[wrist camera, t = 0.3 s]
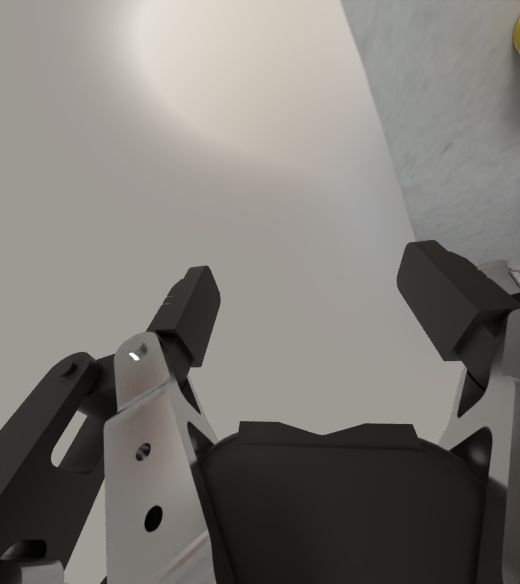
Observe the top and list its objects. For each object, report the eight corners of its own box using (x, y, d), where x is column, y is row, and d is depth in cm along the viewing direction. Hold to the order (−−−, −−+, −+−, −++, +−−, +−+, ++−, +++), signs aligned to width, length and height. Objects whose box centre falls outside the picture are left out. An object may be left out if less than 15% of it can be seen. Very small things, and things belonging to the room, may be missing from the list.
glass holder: (462, 272, 63) (490, 319, 56) (531, 244, 53) (578, 297, 46) (472, 281, 68) (500, 325, 60) (539, 256, 57) (582, 306, 50)
